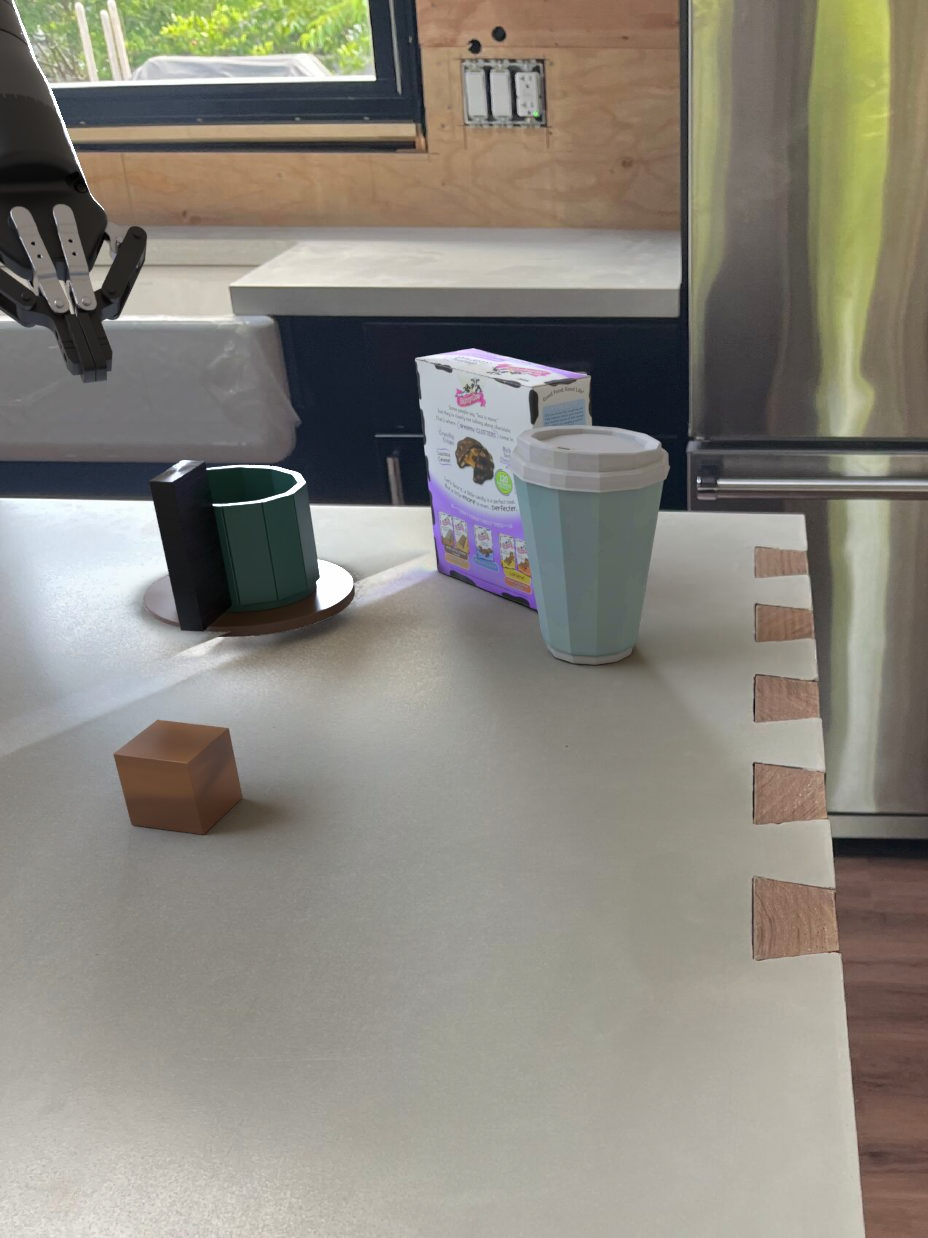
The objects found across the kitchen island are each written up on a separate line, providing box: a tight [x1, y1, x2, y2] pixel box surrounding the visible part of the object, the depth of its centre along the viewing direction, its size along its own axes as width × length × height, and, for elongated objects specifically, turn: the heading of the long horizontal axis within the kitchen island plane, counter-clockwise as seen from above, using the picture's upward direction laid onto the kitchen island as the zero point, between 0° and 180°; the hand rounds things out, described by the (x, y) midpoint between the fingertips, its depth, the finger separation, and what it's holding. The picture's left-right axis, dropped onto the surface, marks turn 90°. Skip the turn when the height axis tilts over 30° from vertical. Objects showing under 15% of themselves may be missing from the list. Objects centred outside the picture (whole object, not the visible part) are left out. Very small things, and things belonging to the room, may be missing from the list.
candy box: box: [414, 348, 593, 610], centre depth 101 cm, size 14×6×16 cm, turn 46°
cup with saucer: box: [142, 459, 356, 638], centre depth 95 cm, size 18×15×11 cm
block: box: [112, 719, 243, 835], centre depth 74 cm, size 4×4×4 cm
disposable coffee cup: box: [508, 425, 671, 666], centre depth 91 cm, size 11×11×15 cm
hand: (96, 375), depth 87 cm, fingers closed
